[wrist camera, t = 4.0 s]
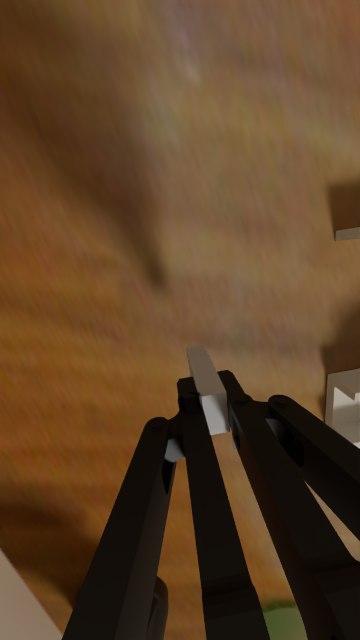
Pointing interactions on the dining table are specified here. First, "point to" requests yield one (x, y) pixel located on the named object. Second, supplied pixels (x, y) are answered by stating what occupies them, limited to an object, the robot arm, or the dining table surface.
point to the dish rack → (344, 386)
